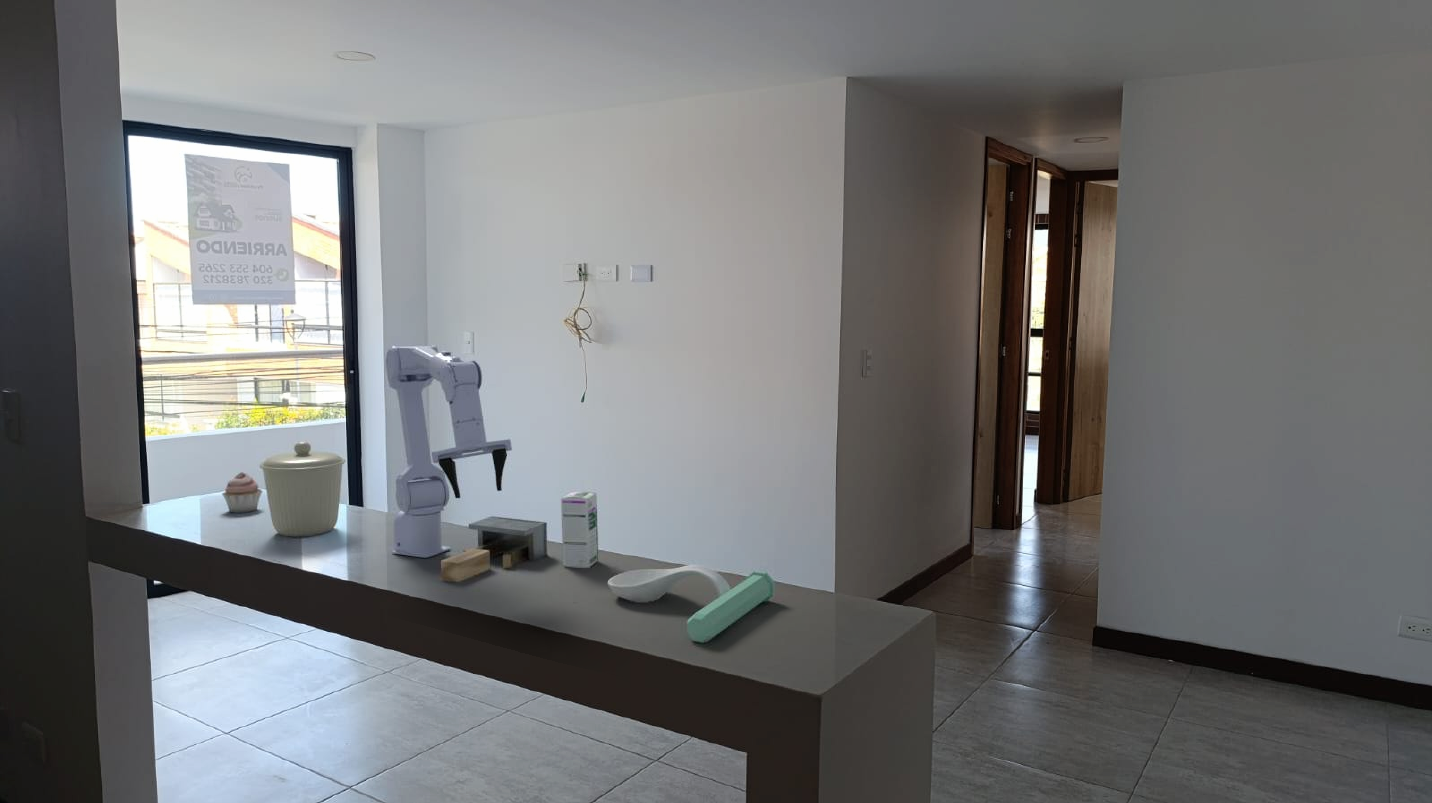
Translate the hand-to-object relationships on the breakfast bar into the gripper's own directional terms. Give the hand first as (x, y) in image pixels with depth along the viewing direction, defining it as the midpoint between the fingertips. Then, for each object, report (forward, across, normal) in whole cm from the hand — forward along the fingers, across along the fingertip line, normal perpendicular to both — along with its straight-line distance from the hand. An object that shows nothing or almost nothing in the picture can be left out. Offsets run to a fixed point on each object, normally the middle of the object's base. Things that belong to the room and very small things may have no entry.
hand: (478, 494), depth 177 cm
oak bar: (+14, -6, +12) cm, 19 cm away
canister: (-3, -44, +50) cm, 67 cm away
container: (+31, +40, -20) cm, 54 cm away
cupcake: (-13, -65, +74) cm, 100 cm away
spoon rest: (+26, +31, -9) cm, 41 cm away
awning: (+12, +1, +22) cm, 25 cm away
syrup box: (+16, +16, +16) cm, 28 cm away
